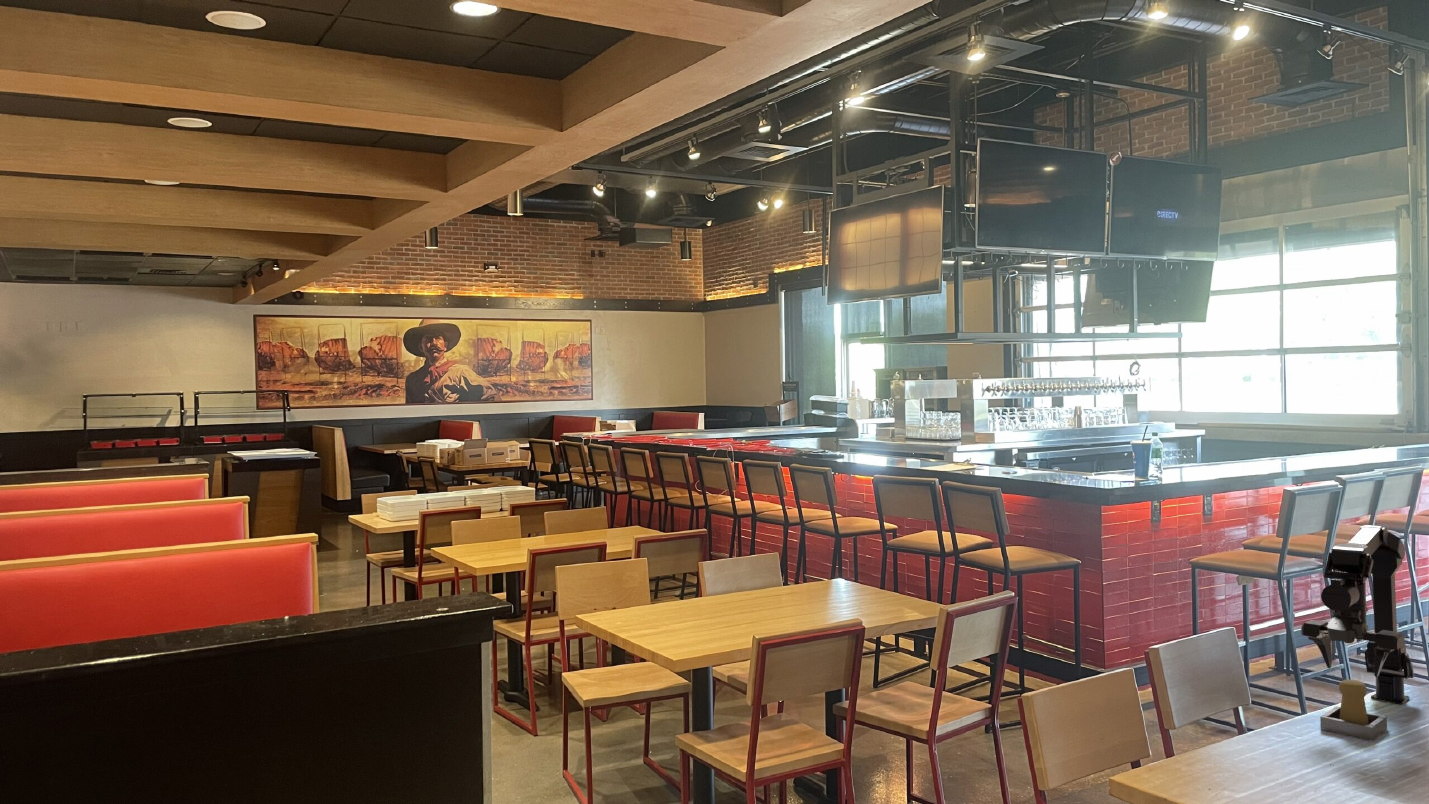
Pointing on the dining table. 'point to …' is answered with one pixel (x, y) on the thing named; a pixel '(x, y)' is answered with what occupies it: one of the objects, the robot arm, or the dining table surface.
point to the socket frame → (1353, 725)
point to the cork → (1353, 702)
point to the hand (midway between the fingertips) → (1352, 672)
